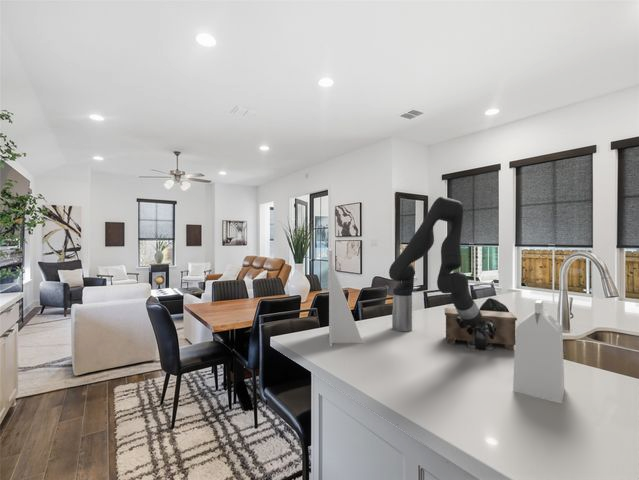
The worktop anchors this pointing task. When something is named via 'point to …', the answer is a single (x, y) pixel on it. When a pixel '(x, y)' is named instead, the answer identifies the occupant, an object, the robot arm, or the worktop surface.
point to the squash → (493, 306)
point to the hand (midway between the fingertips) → (481, 335)
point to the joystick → (480, 341)
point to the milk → (539, 356)
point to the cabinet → (501, 321)
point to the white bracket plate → (340, 312)
